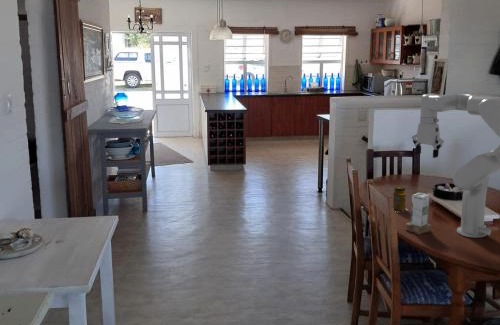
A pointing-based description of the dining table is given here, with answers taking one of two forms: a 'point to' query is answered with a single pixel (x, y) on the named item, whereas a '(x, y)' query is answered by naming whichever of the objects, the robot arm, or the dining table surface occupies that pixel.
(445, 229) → the dining table surface
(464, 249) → the dining table surface
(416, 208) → the syrup box
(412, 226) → the tan flat square box
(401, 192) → the condiment
